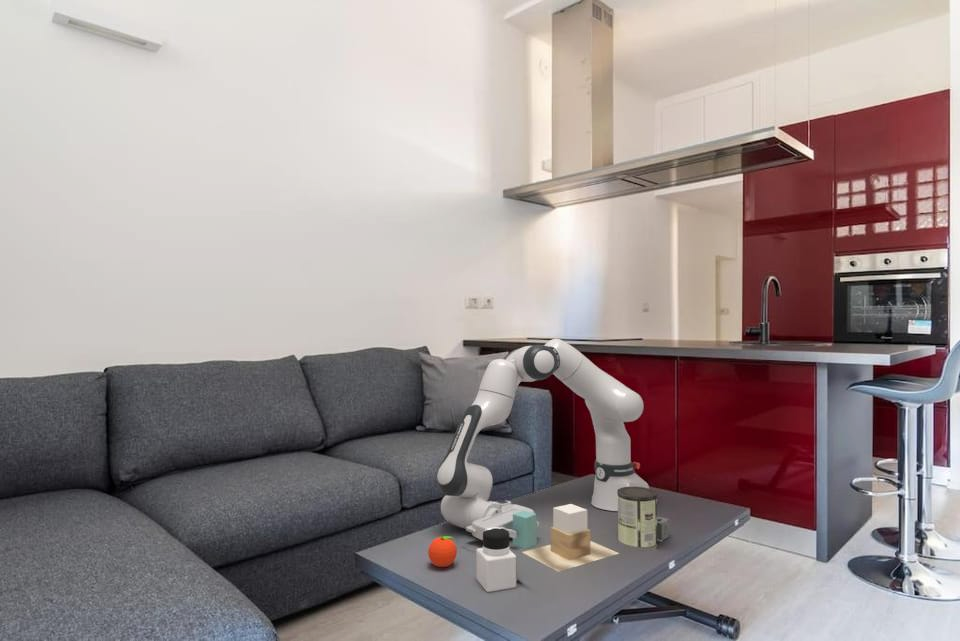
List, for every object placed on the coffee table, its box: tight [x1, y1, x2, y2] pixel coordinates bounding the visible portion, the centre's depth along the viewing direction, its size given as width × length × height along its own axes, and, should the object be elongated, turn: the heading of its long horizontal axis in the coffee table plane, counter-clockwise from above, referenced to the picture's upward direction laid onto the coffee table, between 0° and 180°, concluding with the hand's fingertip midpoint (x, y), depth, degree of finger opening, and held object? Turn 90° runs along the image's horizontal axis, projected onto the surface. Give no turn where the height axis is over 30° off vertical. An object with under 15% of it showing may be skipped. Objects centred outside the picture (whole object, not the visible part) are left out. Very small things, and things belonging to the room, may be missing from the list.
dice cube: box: [657, 516, 670, 540], centre depth 157 cm, size 5×5×5 cm
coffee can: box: [617, 487, 658, 549], centre depth 152 cm, size 10×10×14 cm
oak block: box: [550, 526, 591, 560], centre depth 144 cm, size 7×7×6 cm
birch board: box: [521, 540, 620, 573], centre depth 143 cm, size 20×14×1 cm
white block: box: [552, 503, 588, 535], centre depth 144 cm, size 6×6×5 cm
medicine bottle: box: [475, 527, 517, 593], centre depth 129 cm, size 7×7×12 cm
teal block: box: [512, 510, 538, 550], centre depth 150 cm, size 4×4×9 cm
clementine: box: [427, 535, 459, 568], centre depth 139 cm, size 8×7×7 cm
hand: (527, 530), depth 149 cm, fingers open, 7 cm apart
